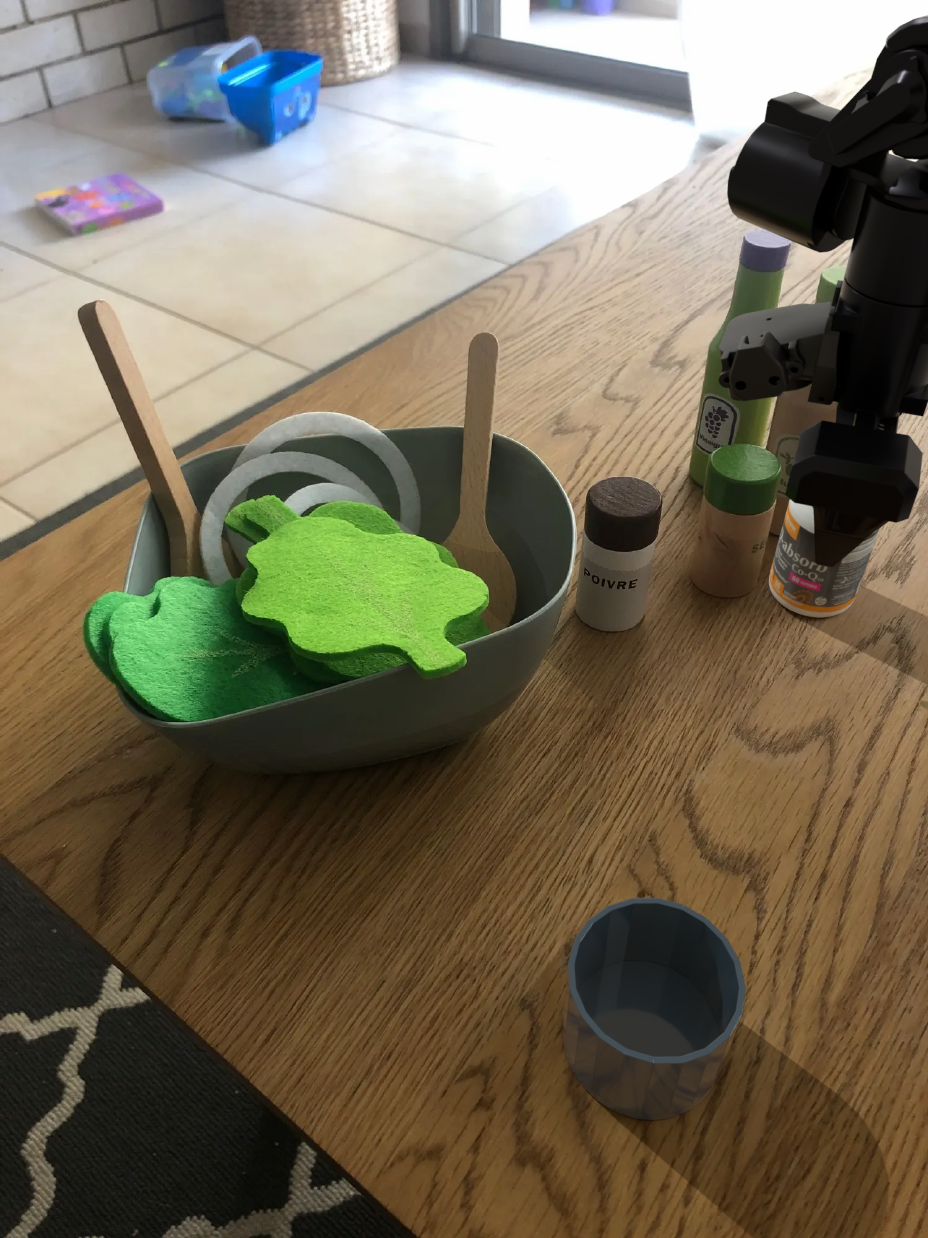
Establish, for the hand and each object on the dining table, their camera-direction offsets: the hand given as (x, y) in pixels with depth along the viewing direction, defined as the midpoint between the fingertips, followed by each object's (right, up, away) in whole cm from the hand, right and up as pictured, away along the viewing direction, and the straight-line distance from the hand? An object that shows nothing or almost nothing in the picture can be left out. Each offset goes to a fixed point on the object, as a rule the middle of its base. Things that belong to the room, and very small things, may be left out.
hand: (833, 519), depth 63 cm
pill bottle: (0, -5, +5) cm, 7 cm away
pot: (-15, -25, -17) cm, 34 cm away
